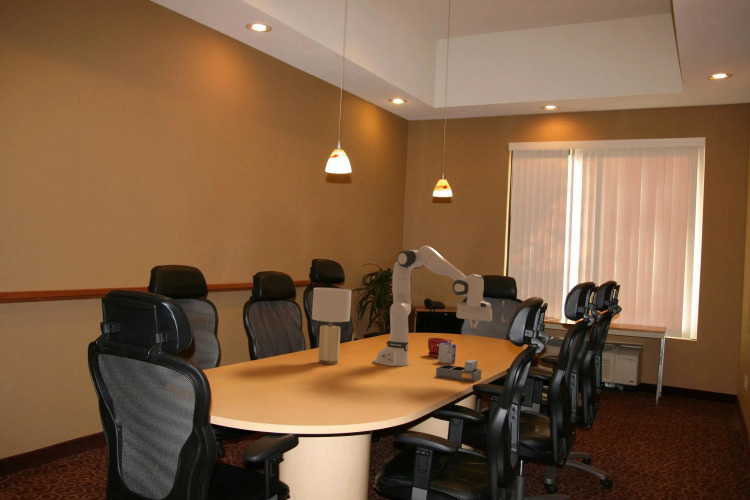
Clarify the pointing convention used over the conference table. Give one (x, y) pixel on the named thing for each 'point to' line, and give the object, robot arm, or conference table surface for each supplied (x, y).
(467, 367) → the grey rectangular block
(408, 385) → the conference table surface
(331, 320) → the lamp
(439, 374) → the slot rack
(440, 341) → the plant pot
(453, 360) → the ink cartridge box
